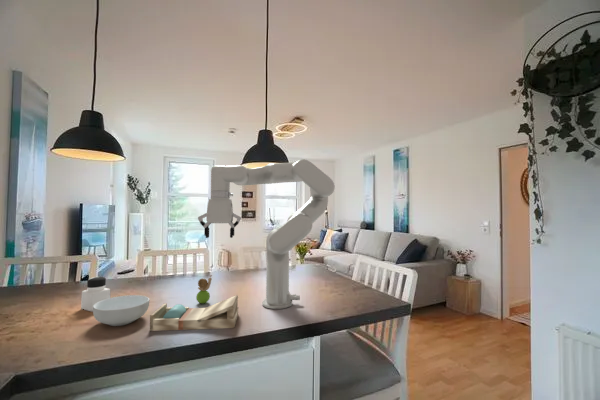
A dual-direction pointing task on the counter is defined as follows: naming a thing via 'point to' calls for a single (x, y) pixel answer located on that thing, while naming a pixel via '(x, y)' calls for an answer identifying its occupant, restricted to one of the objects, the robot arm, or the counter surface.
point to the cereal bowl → (120, 309)
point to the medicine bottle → (94, 293)
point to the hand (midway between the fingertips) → (219, 237)
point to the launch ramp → (198, 317)
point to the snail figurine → (203, 290)
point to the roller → (175, 312)
